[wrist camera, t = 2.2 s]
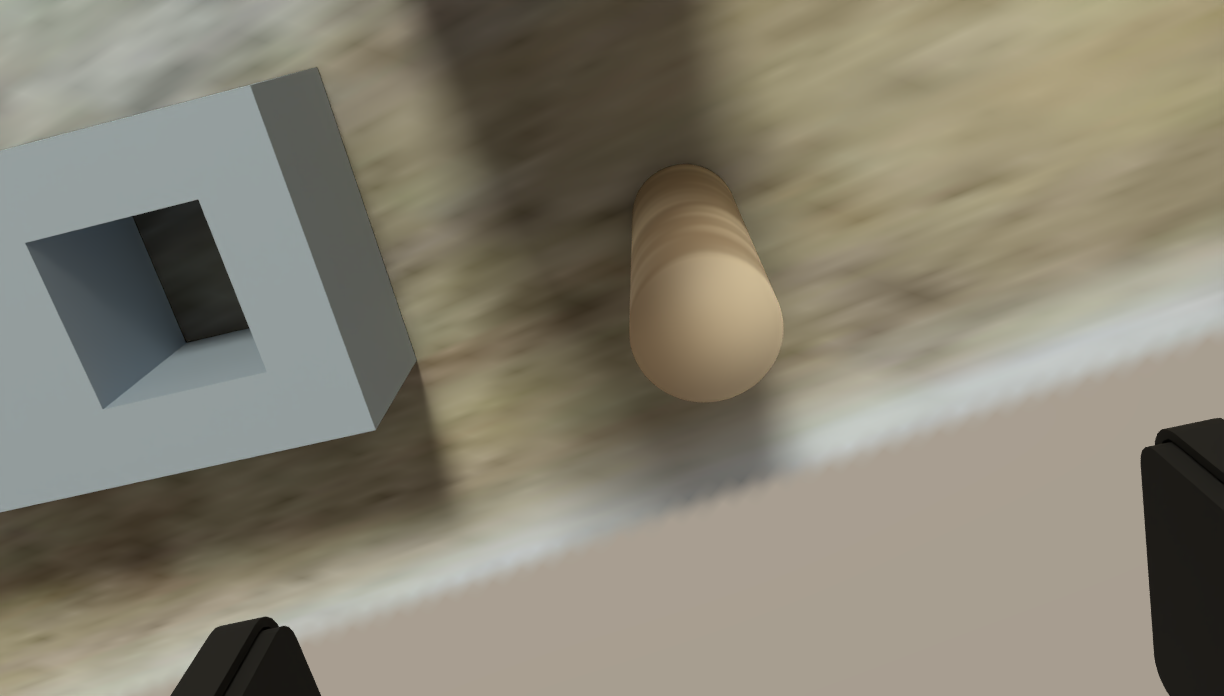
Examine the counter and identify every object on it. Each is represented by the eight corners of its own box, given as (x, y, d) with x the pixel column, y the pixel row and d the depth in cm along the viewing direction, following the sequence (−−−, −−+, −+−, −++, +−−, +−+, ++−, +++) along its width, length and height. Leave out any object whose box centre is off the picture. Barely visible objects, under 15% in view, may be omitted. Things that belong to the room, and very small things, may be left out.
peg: (724, 153, 28) (767, 241, 18) (744, 252, 29) (795, 384, 19) (621, 177, 28) (613, 276, 19) (645, 275, 29) (648, 415, 20)
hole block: (317, 67, 27) (250, 85, 23) (416, 360, 30) (375, 429, 26) (-250, 216, 29) (-419, 261, 25) (-102, 477, 32) (-229, 562, 28)
